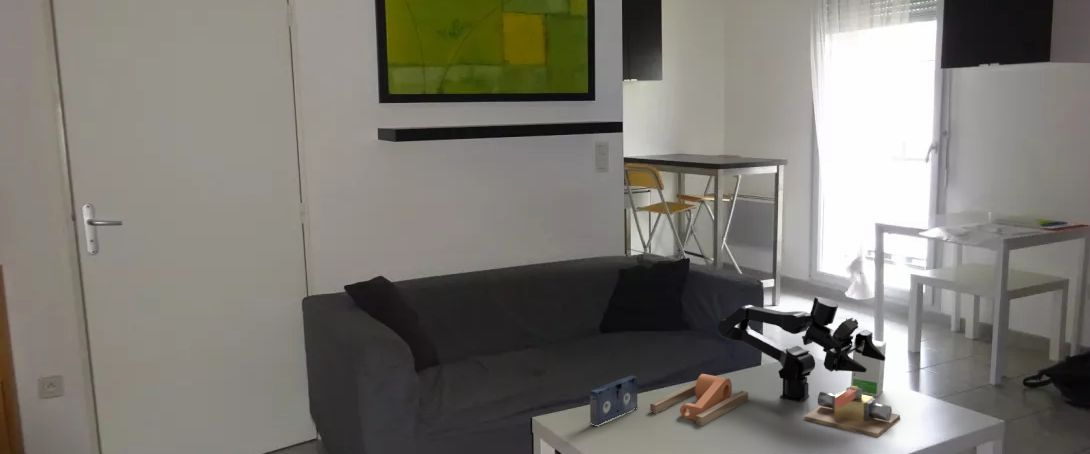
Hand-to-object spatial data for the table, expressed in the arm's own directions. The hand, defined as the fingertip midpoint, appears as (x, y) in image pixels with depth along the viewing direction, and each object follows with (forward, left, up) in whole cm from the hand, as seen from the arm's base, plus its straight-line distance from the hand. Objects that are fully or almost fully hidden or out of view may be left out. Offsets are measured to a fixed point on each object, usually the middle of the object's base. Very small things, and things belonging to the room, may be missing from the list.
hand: (875, 364), depth 224 cm
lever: (-5, -7, -9) cm, 12 cm away
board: (-5, -3, -16) cm, 17 cm away
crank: (-41, -21, -16) cm, 49 cm away
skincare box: (-10, +22, -16) cm, 29 cm away
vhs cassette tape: (-57, -43, -16) cm, 73 cm away
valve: (-5, -2, -16) cm, 17 cm away
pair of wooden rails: (-43, -20, -16) cm, 50 cm away
